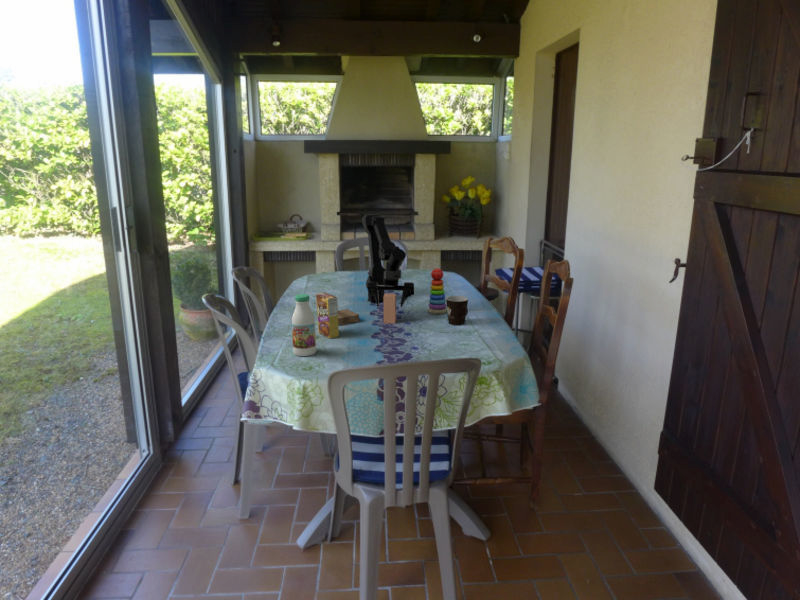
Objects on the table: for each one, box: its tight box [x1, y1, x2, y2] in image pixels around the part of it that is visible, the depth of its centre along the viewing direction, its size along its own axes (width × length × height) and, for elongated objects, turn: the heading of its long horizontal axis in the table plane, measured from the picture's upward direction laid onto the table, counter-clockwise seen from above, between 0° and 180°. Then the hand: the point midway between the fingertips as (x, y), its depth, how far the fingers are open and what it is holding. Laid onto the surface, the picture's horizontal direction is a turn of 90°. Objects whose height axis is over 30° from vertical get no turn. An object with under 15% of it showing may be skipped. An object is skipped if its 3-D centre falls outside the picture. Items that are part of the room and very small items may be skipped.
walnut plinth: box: [338, 308, 360, 327], centre depth 222 cm, size 10×10×3 cm
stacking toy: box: [427, 268, 447, 315], centre depth 232 cm, size 8×8×19 cm
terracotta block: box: [383, 293, 397, 324], centre depth 220 cm, size 4×4×11 cm
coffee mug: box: [445, 295, 469, 326], centre depth 217 cm, size 12×9×10 cm
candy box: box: [315, 292, 340, 339], centre depth 204 cm, size 9×4×15 cm, turn 37°
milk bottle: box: [291, 293, 317, 357], centre depth 185 cm, size 8×8×20 cm
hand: (389, 306), depth 219 cm, fingers open, 9 cm apart
